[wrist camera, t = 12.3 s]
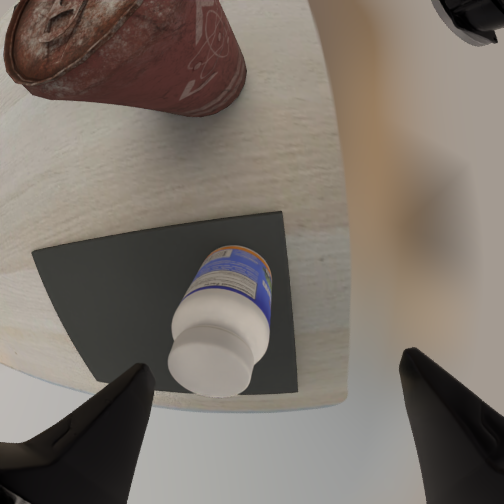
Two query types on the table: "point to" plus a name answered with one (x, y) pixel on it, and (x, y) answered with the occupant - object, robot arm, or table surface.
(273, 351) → the mat
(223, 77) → the can
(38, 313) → the table surface
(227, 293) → the pill bottle
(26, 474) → the robot arm
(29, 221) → the table surface
